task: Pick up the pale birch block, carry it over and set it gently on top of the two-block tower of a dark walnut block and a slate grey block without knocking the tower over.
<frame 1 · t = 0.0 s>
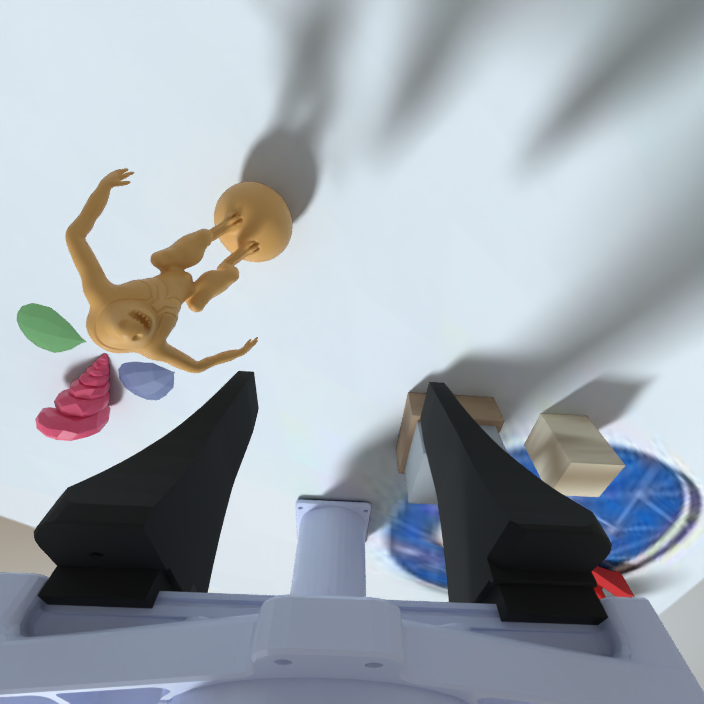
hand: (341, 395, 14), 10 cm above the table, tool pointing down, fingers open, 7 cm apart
birch block: (554, 430, 30), on the table
slate grey block: (447, 449, 27), point 3 cm above the table, touching walnut block
walnut block: (440, 421, 30), on the table, touching slate grey block
toy pieces: (109, 357, 26), on the table
bracket: (587, 569, 46), on the table
figurine: (249, 221, 20), on the table
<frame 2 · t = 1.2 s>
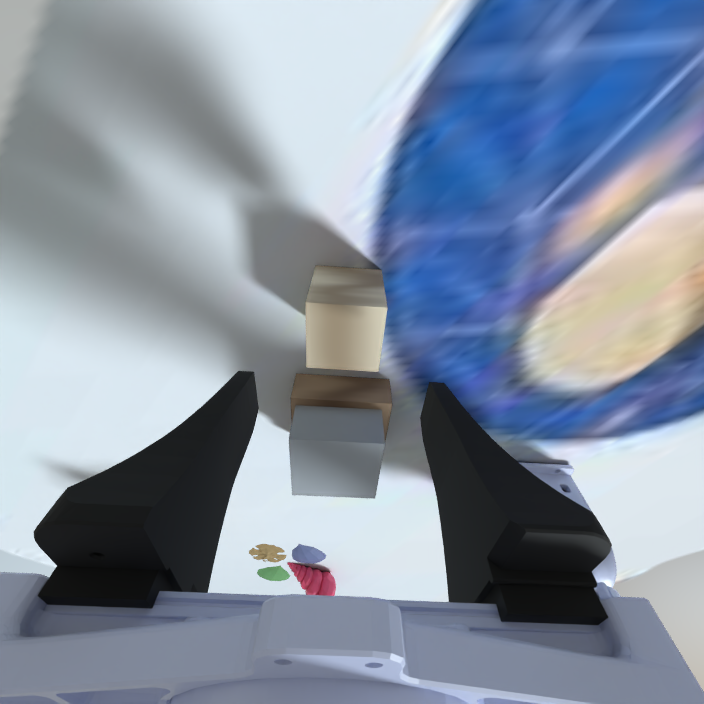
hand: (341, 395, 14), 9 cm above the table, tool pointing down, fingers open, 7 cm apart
birch block: (346, 297, 22), on the table
slate grey block: (337, 436, 25), point 3 cm above the table
walnut block: (340, 407, 28), on the table
toy pieces: (294, 560, 43), on the table
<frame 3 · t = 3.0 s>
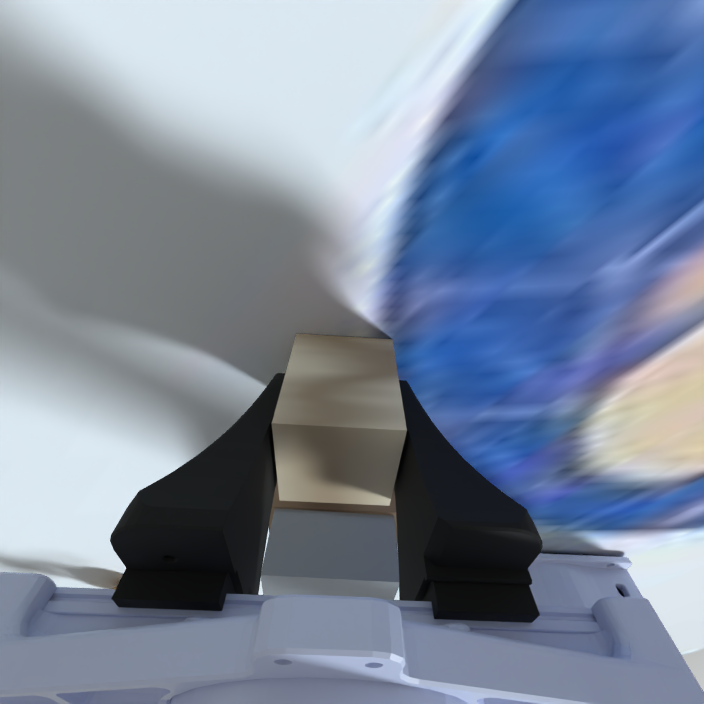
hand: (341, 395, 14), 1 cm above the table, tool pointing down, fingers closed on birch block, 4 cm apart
birch block: (342, 373, 15), on the table, touching gripper
slate grey block: (331, 542, 19), point 3 cm above the table, touching walnut block
walnut block: (336, 494, 21), on the table, touching slate grey block
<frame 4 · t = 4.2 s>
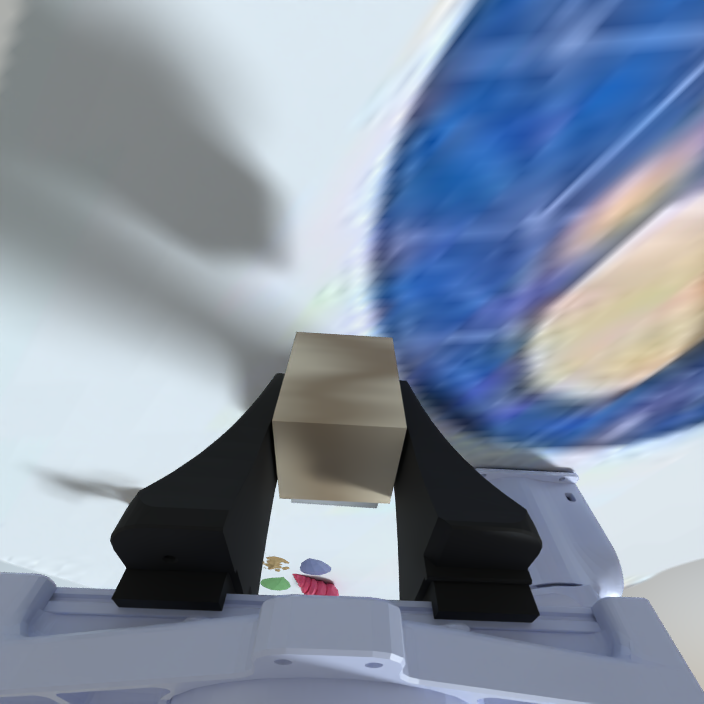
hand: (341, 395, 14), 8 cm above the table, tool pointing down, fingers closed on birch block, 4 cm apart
birch block: (342, 372, 15), point 7 cm above the table, touching gripper
slate grey block: (339, 443, 24), point 2 cm above the table
toy pieces: (298, 570, 43), on the table
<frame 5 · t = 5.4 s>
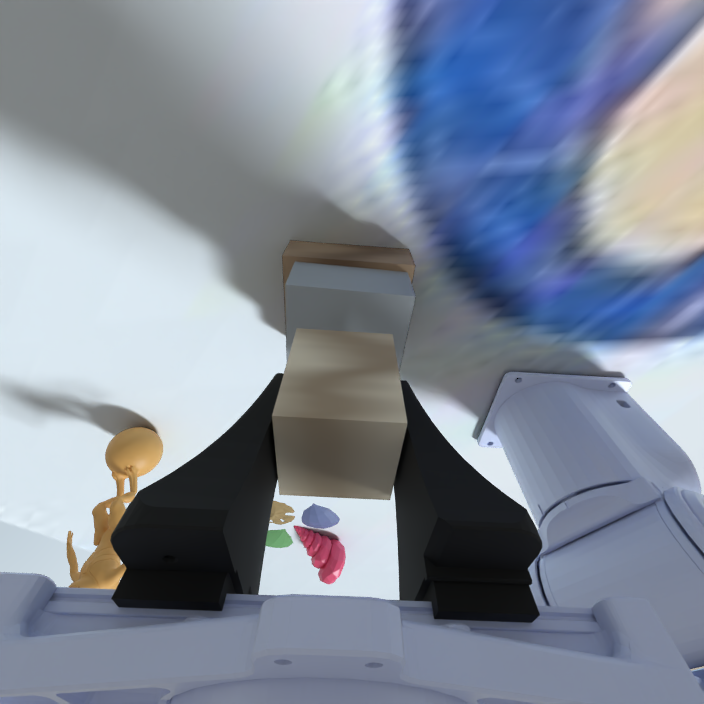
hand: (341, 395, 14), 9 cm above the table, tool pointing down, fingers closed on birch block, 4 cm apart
birch block: (342, 369, 15), point 8 cm above the table, touching gripper
slate grey block: (346, 316, 20), point 3 cm above the table, touching walnut block
walnut block: (346, 296, 22), on the table, touching slate grey block
toy pieces: (301, 524, 39), on the table
figurine: (157, 438, 30), on the table
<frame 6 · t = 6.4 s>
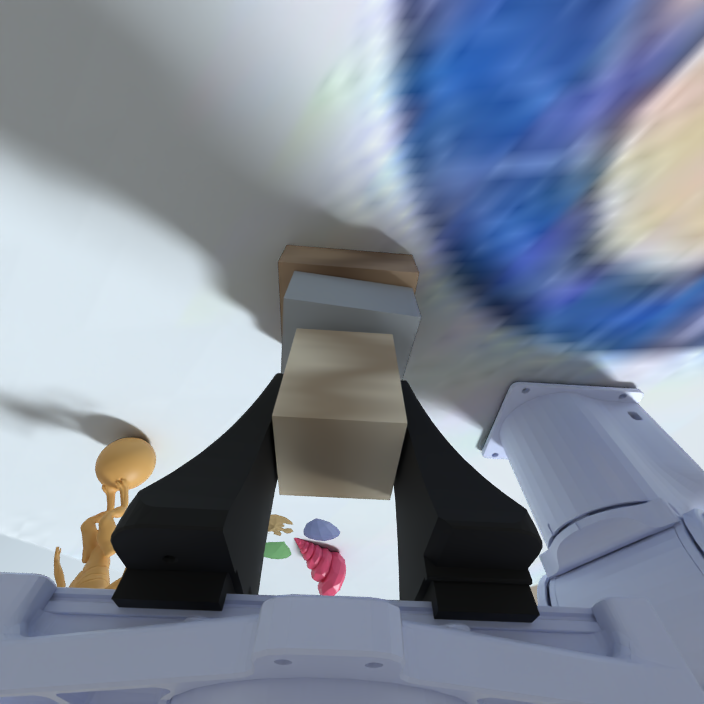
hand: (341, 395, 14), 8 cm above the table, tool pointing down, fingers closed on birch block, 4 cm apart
birch block: (342, 369, 15), point 7 cm above the table, touching gripper
slate grey block: (345, 329, 19), point 3 cm above the table, touching walnut block
walnut block: (345, 303, 21), on the table, touching slate grey block
toy pieces: (301, 535, 38), on the table
figurine: (150, 448, 29), on the table
when the fingers open (8 cm above the table, at t = 7.0 s): birch block drops 1 cm, point 6 cm above the table.
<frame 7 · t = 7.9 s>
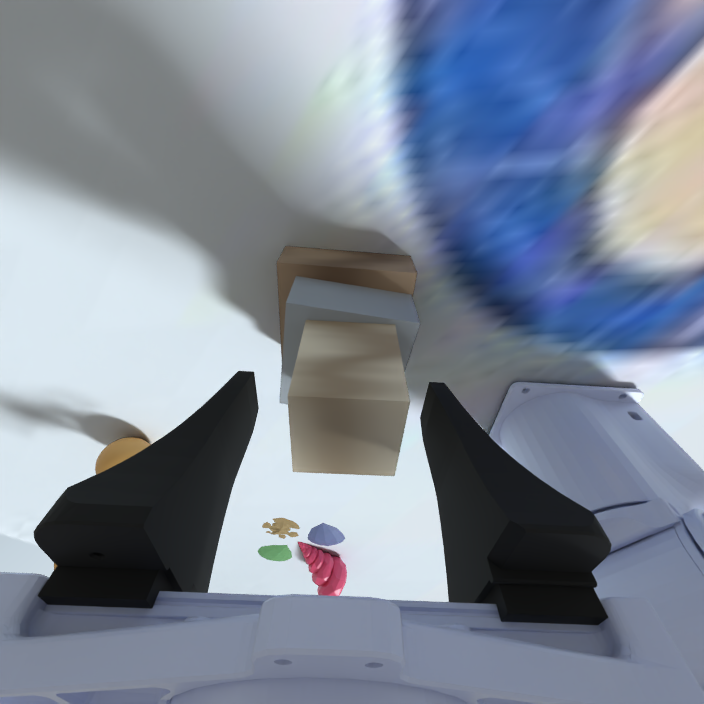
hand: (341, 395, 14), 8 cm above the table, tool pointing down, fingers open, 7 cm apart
birch block: (348, 358, 16), point 6 cm above the table
slate grey block: (345, 334, 19), point 3 cm above the table, touching walnut block
walnut block: (344, 303, 21), on the table, touching slate grey block
toy pieces: (304, 539, 38), on the table
figurine: (150, 448, 29), on the table
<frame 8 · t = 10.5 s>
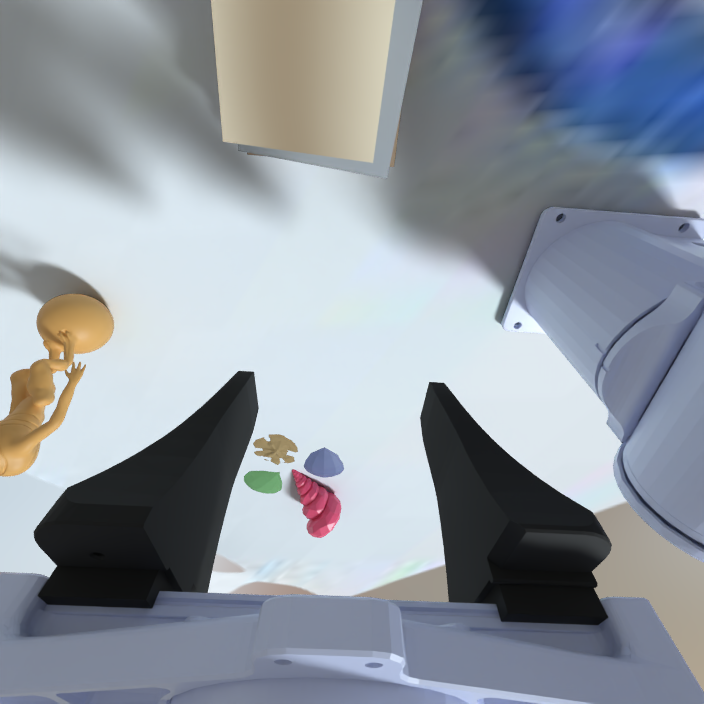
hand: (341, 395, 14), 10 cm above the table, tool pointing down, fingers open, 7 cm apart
birch block: (323, 74, 12), point 6 cm above the table, touching slate grey block
slate grey block: (329, 77, 14), point 3 cm above the table, touching birch block, walnut block
toy pieces: (298, 469, 35), on the table
figurine: (109, 319, 25), on the table
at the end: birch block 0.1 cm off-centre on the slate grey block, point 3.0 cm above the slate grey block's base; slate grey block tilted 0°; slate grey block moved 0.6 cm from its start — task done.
